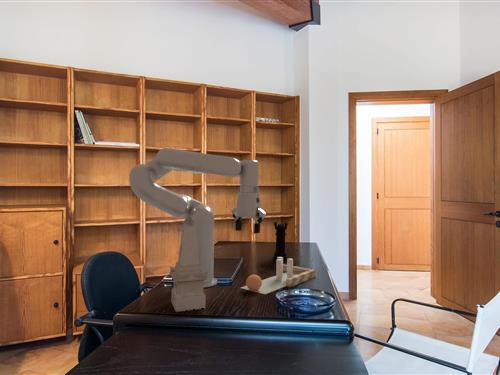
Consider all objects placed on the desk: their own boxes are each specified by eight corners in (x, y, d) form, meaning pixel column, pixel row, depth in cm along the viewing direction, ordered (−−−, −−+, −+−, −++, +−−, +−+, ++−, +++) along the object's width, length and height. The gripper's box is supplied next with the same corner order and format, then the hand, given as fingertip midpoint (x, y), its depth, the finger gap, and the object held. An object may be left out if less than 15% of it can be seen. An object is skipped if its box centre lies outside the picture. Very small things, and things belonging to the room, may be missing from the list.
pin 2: (288, 281, 148) (288, 259, 148) (286, 279, 150) (286, 258, 150) (293, 280, 148) (293, 259, 148) (291, 279, 151) (291, 258, 151)
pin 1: (278, 279, 151) (278, 258, 151) (276, 277, 153) (276, 257, 153) (283, 278, 151) (283, 258, 151) (281, 277, 154) (281, 256, 154)
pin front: (277, 282, 146) (277, 260, 146) (275, 280, 148) (275, 259, 148) (282, 282, 147) (283, 260, 146) (280, 280, 149) (280, 259, 149)
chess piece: (287, 258, 194) (288, 222, 194) (287, 261, 186) (288, 223, 186) (273, 257, 195) (273, 221, 195) (272, 260, 187) (273, 223, 187)
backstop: (290, 287, 139) (290, 279, 139) (254, 279, 151) (254, 272, 151) (315, 276, 156) (315, 270, 156) (281, 270, 167) (281, 263, 167)
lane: (265, 294, 130) (265, 294, 130) (240, 288, 137) (240, 287, 137) (310, 276, 156) (310, 275, 156) (287, 271, 164) (287, 271, 164)
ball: (248, 293, 131) (248, 277, 130) (244, 288, 136) (244, 273, 136) (263, 292, 132) (264, 276, 132) (259, 287, 138) (259, 272, 138)
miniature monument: (169, 301, 120) (170, 214, 120) (199, 298, 124) (200, 213, 124) (174, 312, 111) (175, 217, 110) (207, 308, 114) (208, 216, 114)
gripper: (271, 191, 142) (269, 233, 142) (238, 189, 153) (237, 228, 153) (260, 190, 136) (258, 235, 136) (227, 189, 147) (225, 230, 147)
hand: (247, 231), depth 145 cm, fingers open, 9 cm apart
